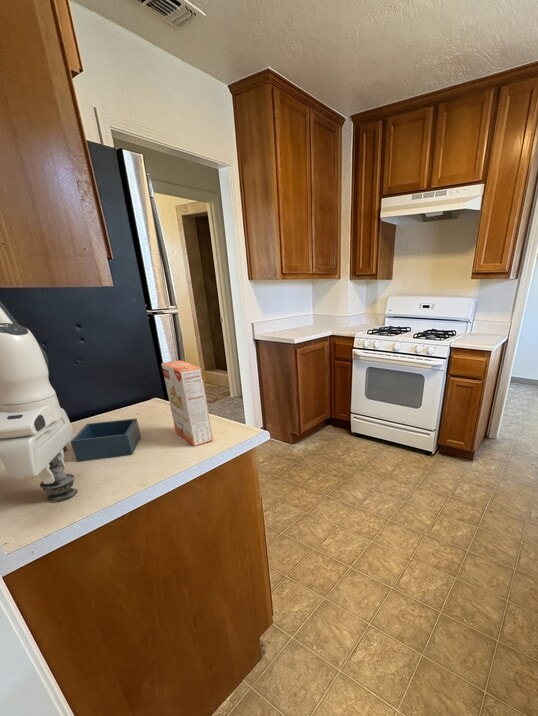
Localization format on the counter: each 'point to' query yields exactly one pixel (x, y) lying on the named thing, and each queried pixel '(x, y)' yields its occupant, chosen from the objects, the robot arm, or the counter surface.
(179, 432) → the cracker box
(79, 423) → the counter surface
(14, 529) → the counter surface
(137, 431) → the bin
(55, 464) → the grey chess piece
